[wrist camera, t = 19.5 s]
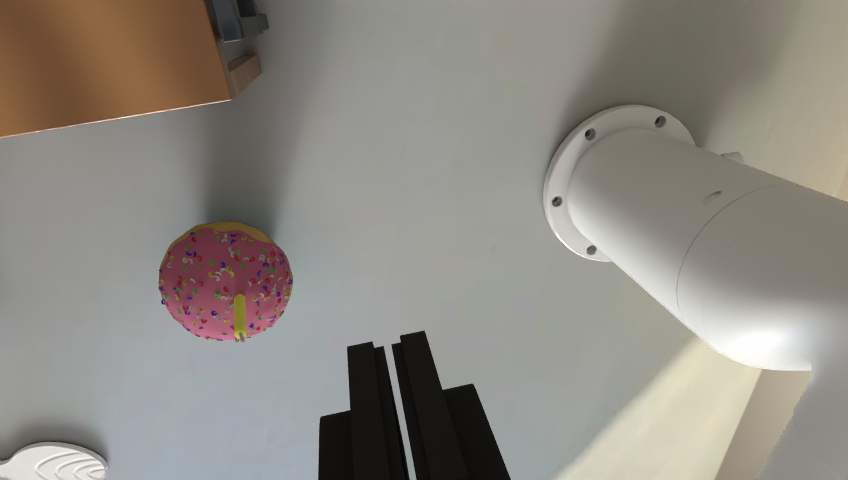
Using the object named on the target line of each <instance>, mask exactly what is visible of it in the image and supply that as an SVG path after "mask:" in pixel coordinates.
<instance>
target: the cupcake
mask: <svg viewBox="0 0 848 480" xmlns="http://www.w3.org/2000/svg"><path fill="white" fill-rule="evenodd" d="M158 283H159V290H160V293H161V296H162V298H163V299H162V301H161V303H162V304H165V305H166V307H167V309H168V311H169V313H170V314H171V315H172V317H173V318H174V320H176V321H177V322H178V323H179V324H181V325H182V326H183V327H185V328H186V329H187V330H188V331H190V332H191V333H192V334H194V335H196V336H198V337H205V338H206V339H207V340H209V339H208V338H210V339H213V340H215V341H220V340H221V341H223V340H236V342H238V341H239V340H240V341H241V342H242V343H244V342H245V340H244V338H251V336H254V335H256V334H258V333H260V332H262V331H265V330H266V329H267V328H269V327H273V326H272V325H273V324H274V323H275V322H276V321H277V320H278V319H279V318H280V316H281V315H282V314H283V312H284V310H285V308H286V306H287V304H288V302H289V299H290V296H291V291H292V285H293V276H292V272H291V269H290V266H289V262H288V259H287V257H286V255H285V254H284V252H283V251H282V250H281V249H280V248H279V247H278V246H277V245H276V244H275V243H274V242H273V241H272V240H271V239H270V238H269V237H268V236H267V235H266V234H265V233H264V232H262V231H261V230H259V229H256V228H253V227H250V226H248V225H245V224H243V223H239V222H235V221H224V222H215V223H210V224H200V225H197V226H195V227H193V228H191V229H190V230H189V231H187V232H186V233H184V234H183V235H182V236H180V237H179V238H178V239H176V240H175V241H174V242H173V243H172V244H171V245H170V246H169V248H168V250H167V252H166V254H165V256H164V259H163V261H162V263H161V266H160V270H159V282H158ZM163 302H164V303H163ZM238 339H239V340H238ZM237 340H238V341H237Z"/></svg>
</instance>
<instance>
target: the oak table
mask: <svg viewBox="0 0 848 480" xmlns="http://www.w3.org/2000/svg"><path fill="white" fill-rule="evenodd" d="M260 74H261V68H260V64H259V60H258V56H257V55H250V56H243V57H239V58H237V59H235V60H233V61H231V62H229V63H227V61H226V57H225V54H224V50H223V46H222V43H221V39H220V36H219V32H218V28H217V25H216V21H215V17H214V14H213V10H212V6H211V3H210V0H0V138H5V137H11V136H17V135H23V134H29V133H35V132H42V131H48V130H54V129H60V128H66V127H72V126H78V125H85V124H91V123H97V122H103V121H109V120H115V119H121V118H128V117H134V116H140V115H146V114H152V113H158V112H164V111H171V110H177V109H183V108H189V107H195V106H201V105H207V104H214V103H220V102H226V101H231V100H233V99H234V98H235V97H236V96H237V95H238V94H239V93H240V92H241V91H242V90H243V89H244V88H246V87H247V86H248V85H249V84H250V83H251V82H252V81H253V80H254V79H255V78H256V77H257V76H259V75H260Z"/></svg>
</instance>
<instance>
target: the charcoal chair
mask: <svg viewBox="0 0 848 480" xmlns="http://www.w3.org/2000/svg"><path fill="white" fill-rule="evenodd" d="M210 3H211V6H212V10H213V14H214V17H215V21H216V25H217V28H218V32H219V36H220V39H221V40H223V42H224V43H227V42H233V41H240V40H244V39H247V38H250V37H253V36H255V35H258V34H261V33H263V30H267V29H269V25H268V21H267V16H266V14H258V10H257V6H256V2H255V0H210Z"/></svg>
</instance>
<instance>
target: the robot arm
mask: <svg viewBox="0 0 848 480" xmlns="http://www.w3.org/2000/svg"><path fill="white" fill-rule="evenodd" d="M587 130H588V133H587V135H585V132H586V131H587ZM554 197H556V198H555V200H553V201H552V199H553V198H554ZM543 204H544V209H545V214H546V218H547V220H548V222H549V225H550V227H551V229H552V230H553V232H554V233H555V235H556V236H557V237H558V239H559V240H560V241H561V242H562V243H564V244H565V245H566V247H568V248H569V249H570V250H572V251H573V252H575V253H576V254H578V255H580V256H582V257H585V258H587V259H591V260H597V261H613V262H614V263H615V264H617V265H618V266H619V267H620V268H621V269H622V270H623V271H624V272H626V273H627V274H628V275H629V276H630V277H631V278H632V279H634V280H635V281H636V282H637V283H638V284H639V285H640V286H641V287H643V288H644V289H645V290H646V291H647V292H648V293H649V294H650V295H652V296H653V297H654V298H655V299H656V300H657V301H658V302H660V303H661V304H662V305H663V306H664V307H665V308H666V309H667V310H669V311H670V312H671V313H672V314H673V315H674V316H675V317H677V318H678V319H679V320H680V321H681V322H682V323H683V324H684V325H686V326H687V327H688V328H689V329H690V330H691V331H693V332H694V333H695V334H696V335H697V336H698V337H700V338H701V339H702V340H703V341H704V342H705V343H707V344H708V345H709V346H710V347H712V348H713V349H714V350H716V351H717V352H719V353H720V354H722V355H724V356H726V357H728V358H729V359H731V360H734V361H736V362H739V363H742V364H745V365H748V366H751V367H756V368H762V369H771V370H782V371H804V370H805V371H806V370H811V375H810V378H809V381H808V384H807V386H806V388H805V390H804V392H803V394H802V396H801V397H800V399H799V401H798V403H797V405H796V406H795V408H794V412H793V416H792V418H791V420H790V421H789V423H788V425H787V426H786V428H785V430H784V431H783V433H782V435H781V437H780V438H779V440H778V442H777V443H776V445H775V447H774V448H773V450H772V452H771V453H770V455H769V457H768V458H767V460H766V462H765V463H764V465H763V467H762V468H761V470H760V472H759V474H758V475H757V477H756V479H755V480H848V202H846V201H843V200H840V199H837V198H834V197H832V196H829V195H826V194H824V193H821V192H818V191H815V190H813V189H810V188H807V187H804V186H801V185H799V184H796V183H793V182H791V181H788V180H785V179H783V178H780V177H777V176H774V175H772V174H769V173H766V172H764V171H761V170H758V169H756V168H753V167H750V166H748V165H745V164H743V157H742V155H741V154H740V153H739V152H732V153H726V154H721V155H718V154H715V153H712V152H710V151H707V150H704V149H702V148H699V147H696V145H695V142H694V140H693V138H692V137H691V135H690V133H689V131H688V130H687V129H686V128H685V126H684V125H683V124H682V123H681V122H680V121H679V120H678V119H676V118H675V117H673V116H672V115H670V114H669V113H667V112H664V111H661V110H659V109H656V108H653V107H648V106H644V105H622V106H617V107H612V108H609V109H606V110H604V111H601V112H599V113H597V114H595V115H593V116H591V117H590V118H588V119H586V120H585V121H583V122H582V123H581V124H580V125H579V126H577V127H576V128H575V129H574V130H573V131H572V132H570V134H569V135H568V136H567V137H566V138H565V140H564V141H563V142H562V143H561V144H560V146H559V148H558V149H557V151H556V153H555V154H554V156H553V158H552V160H551V162H550V165H549V168H548V170H547V173H546V177H545V182H544V188H543ZM400 339H401V343H396V344H391V345H392V350H393V355H394V361H395V366H396V371H397V377H398V382H399V388H400V393H401V398H402V404H403V409H404V414H405V420H406V425H407V430H408V436H409V441H410V446H411V452H412V457H413V463H414V468H415V473H416V479H417V480H511V479H510V476H509V474H508V471H507V469H506V466H505V464H504V461H503V458H502V456H501V453H500V451H499V448H498V445H497V443H496V440H495V438H494V435H493V433H492V430H491V427H490V425H489V422H488V420H487V417H486V414H485V412H484V409H483V407H482V404H481V402H480V399H479V396H478V394H477V391H476V389H475V387H474V385H473V384H468V385H463V386H459V387H454V388H450V389H445V390H442V387H441V384H440V381H439V377H438V374H437V370H436V367H435V364H434V360H433V357H432V354H431V350H430V347H429V344H428V340H427V337H426V334H425V331H420V332H415V333H410V334H406V335H401V336H400ZM347 354H348V373H349V391H350V410H349V411H345V412H340V413H336V414H331V415H326V416H322V417H321V418H320V428H319V471H318V480H410V479H409V473H408V467H407V462H406V456H405V450H404V445H403V440H402V435H401V430H400V425H399V420H398V415H397V410H396V405H395V400H394V395H393V390H392V385H391V380H390V375H389V371H388V366H387V361H386V356H385V351H384V346H381V347H377V348H374V345H373V342H367V343H362V344H358V345H353V346H348V347H347Z"/></svg>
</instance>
